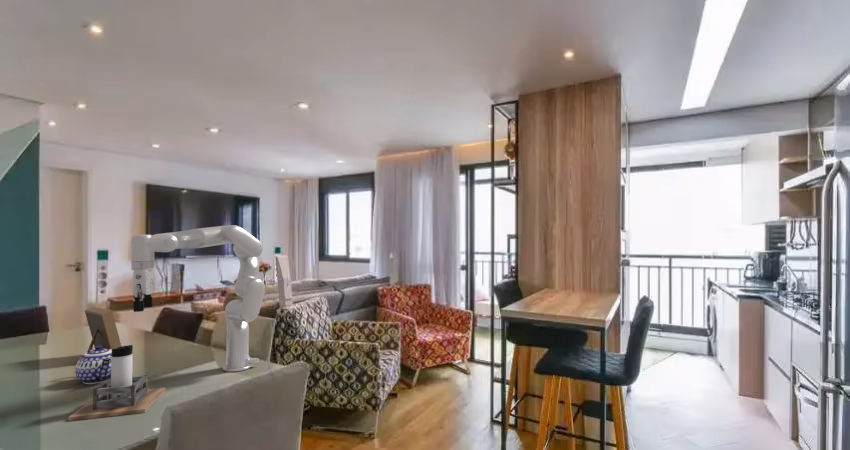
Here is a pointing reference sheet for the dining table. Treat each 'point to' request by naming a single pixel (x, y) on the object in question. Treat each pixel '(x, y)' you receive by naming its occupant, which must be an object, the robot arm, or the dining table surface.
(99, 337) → the photo frame
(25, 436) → the dining table surface
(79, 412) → the collar stand
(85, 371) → the teapot
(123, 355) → the travel mug
